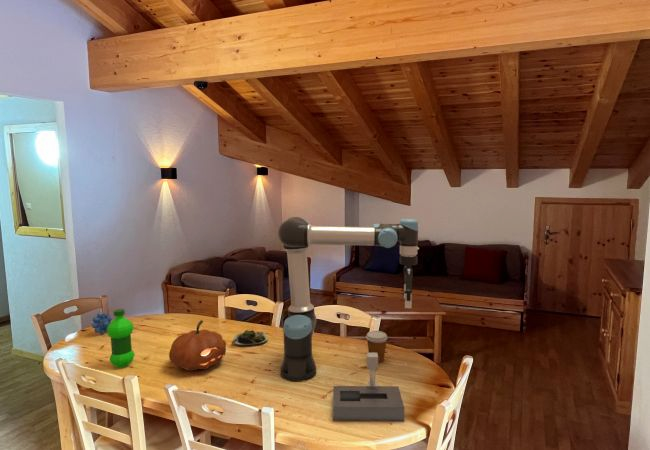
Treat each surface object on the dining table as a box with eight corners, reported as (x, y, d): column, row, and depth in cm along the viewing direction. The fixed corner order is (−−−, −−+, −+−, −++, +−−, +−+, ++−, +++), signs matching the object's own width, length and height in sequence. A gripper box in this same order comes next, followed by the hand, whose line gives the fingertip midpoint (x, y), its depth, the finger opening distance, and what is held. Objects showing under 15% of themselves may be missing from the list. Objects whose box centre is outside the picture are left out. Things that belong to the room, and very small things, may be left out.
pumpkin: (213, 379, 170) (211, 335, 168) (157, 375, 174) (155, 332, 172) (236, 354, 195) (234, 315, 193) (186, 351, 199) (184, 313, 197)
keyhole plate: (332, 420, 141) (332, 406, 140) (333, 398, 155) (333, 385, 154) (404, 421, 140) (404, 407, 139) (398, 399, 154) (398, 386, 153)
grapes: (98, 339, 215) (96, 316, 213) (89, 337, 218) (88, 315, 216) (118, 331, 225) (116, 310, 224) (109, 329, 228) (107, 308, 227)
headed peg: (366, 392, 159) (366, 357, 157) (365, 386, 164) (365, 352, 162) (379, 392, 159) (379, 357, 157) (378, 386, 164) (378, 352, 162)
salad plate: (231, 334, 220) (231, 326, 220) (265, 331, 224) (265, 323, 223) (231, 349, 201) (231, 340, 201) (268, 345, 205) (268, 336, 205)
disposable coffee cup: (386, 365, 181) (386, 339, 180) (364, 363, 183) (364, 337, 182) (387, 356, 191) (388, 331, 189) (367, 354, 192) (367, 329, 191)
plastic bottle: (104, 368, 182) (100, 313, 179) (123, 358, 191) (119, 305, 189) (122, 371, 178) (118, 315, 175) (140, 361, 188) (137, 308, 185)
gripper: (419, 261, 166) (418, 312, 168) (415, 250, 190) (414, 295, 193) (400, 260, 167) (399, 311, 170) (399, 249, 192) (398, 294, 194)
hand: (407, 303), depth 181 cm, fingers open, 13 cm apart
